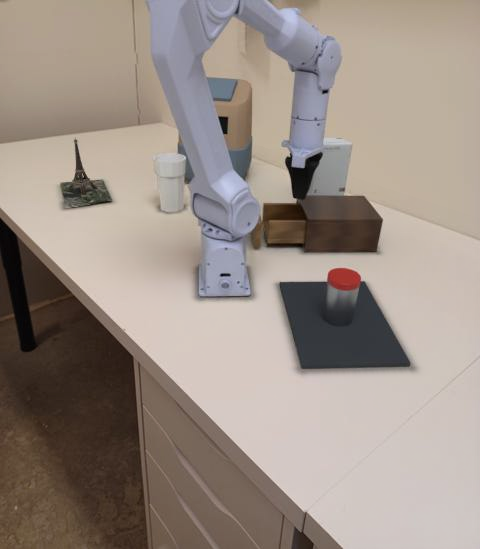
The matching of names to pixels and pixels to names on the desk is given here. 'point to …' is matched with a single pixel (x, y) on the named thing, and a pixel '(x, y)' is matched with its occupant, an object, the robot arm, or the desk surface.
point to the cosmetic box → (332, 168)
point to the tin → (341, 296)
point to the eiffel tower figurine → (83, 187)
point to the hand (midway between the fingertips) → (300, 195)
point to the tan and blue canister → (230, 122)
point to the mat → (340, 331)
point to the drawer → (281, 224)
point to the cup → (170, 180)
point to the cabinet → (340, 224)
